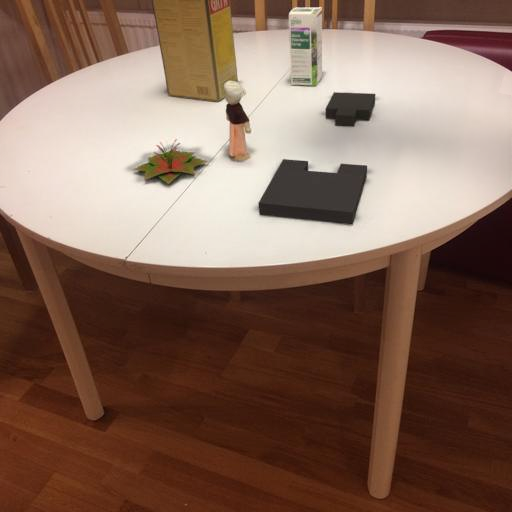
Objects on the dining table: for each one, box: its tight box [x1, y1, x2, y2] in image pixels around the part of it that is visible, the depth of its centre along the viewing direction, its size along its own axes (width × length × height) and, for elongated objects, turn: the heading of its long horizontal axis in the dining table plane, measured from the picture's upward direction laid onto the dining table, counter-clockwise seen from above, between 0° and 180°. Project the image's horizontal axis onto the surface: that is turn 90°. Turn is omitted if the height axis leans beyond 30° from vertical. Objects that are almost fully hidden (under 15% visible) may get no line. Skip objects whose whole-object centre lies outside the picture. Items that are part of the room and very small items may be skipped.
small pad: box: [325, 91, 376, 127], centre depth 97 cm, size 8×11×2 cm
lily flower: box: [131, 138, 210, 185], centre depth 85 cm, size 12×12×5 cm
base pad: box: [257, 158, 368, 225], centre depth 76 cm, size 13×13×2 cm
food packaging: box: [151, 0, 239, 103], centre depth 106 cm, size 13×9×25 cm
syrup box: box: [288, 6, 323, 87], centre depth 109 cm, size 6×6×14 cm
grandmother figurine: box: [224, 81, 252, 162], centre depth 84 cm, size 8×4×13 cm, turn 40°
